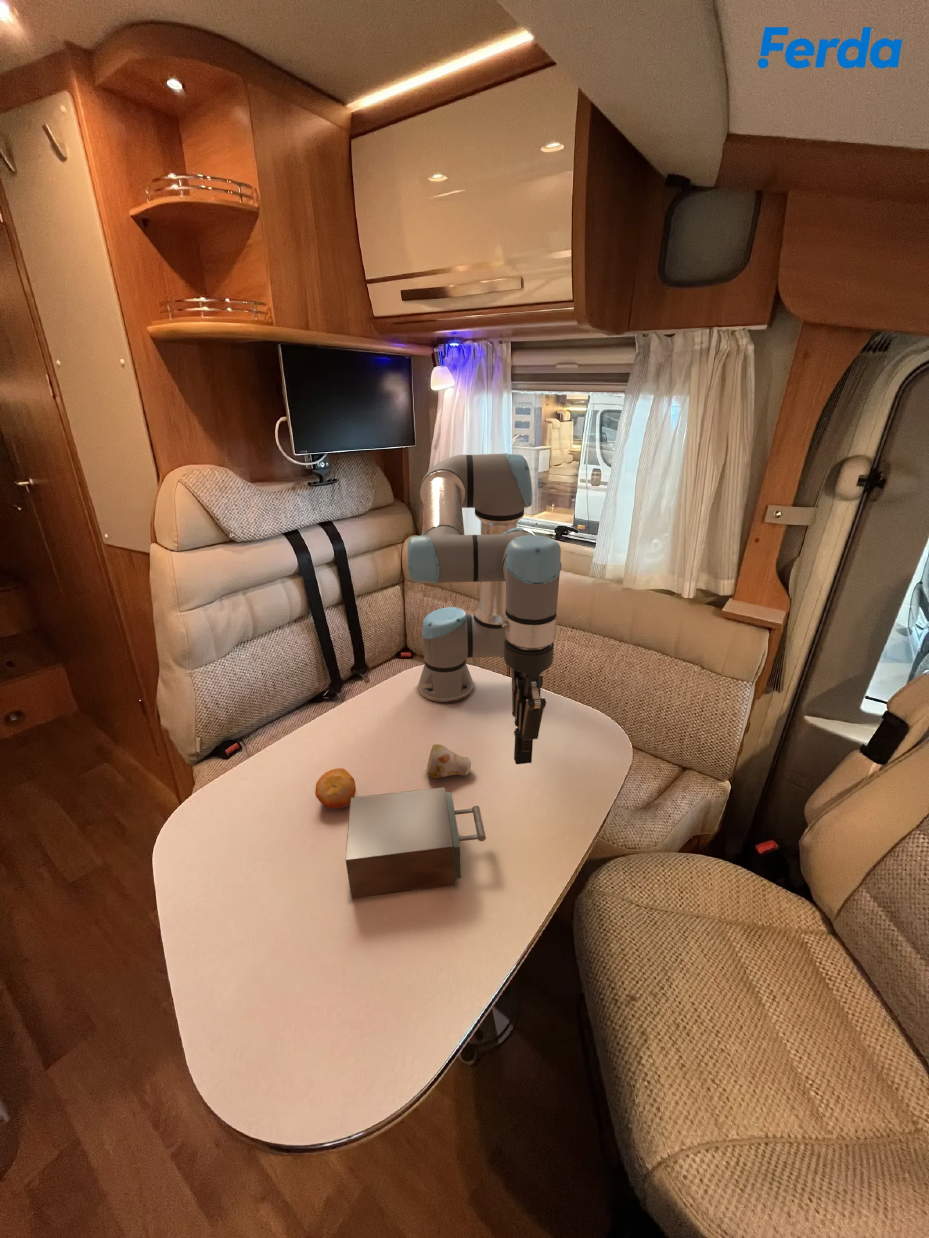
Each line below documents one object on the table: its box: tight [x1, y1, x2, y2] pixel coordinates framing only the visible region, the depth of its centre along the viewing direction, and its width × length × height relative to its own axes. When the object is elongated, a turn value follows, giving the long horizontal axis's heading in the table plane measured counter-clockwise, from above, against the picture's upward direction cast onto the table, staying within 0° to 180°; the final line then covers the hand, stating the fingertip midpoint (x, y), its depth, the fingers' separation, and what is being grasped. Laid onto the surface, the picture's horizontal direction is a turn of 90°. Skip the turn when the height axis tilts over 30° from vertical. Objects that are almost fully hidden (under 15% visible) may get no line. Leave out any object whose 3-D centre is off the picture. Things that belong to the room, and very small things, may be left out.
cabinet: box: [345, 786, 455, 900], centre depth 90 cm, size 18×14×10 cm
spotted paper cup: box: [426, 743, 472, 779], centre depth 110 cm, size 8×10×10 cm
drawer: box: [446, 791, 487, 880], centre depth 90 cm, size 21×12×8 cm, turn 98°
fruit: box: [314, 767, 357, 810], centre depth 104 cm, size 8×8×8 cm
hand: (522, 760), depth 86 cm, fingers closed
